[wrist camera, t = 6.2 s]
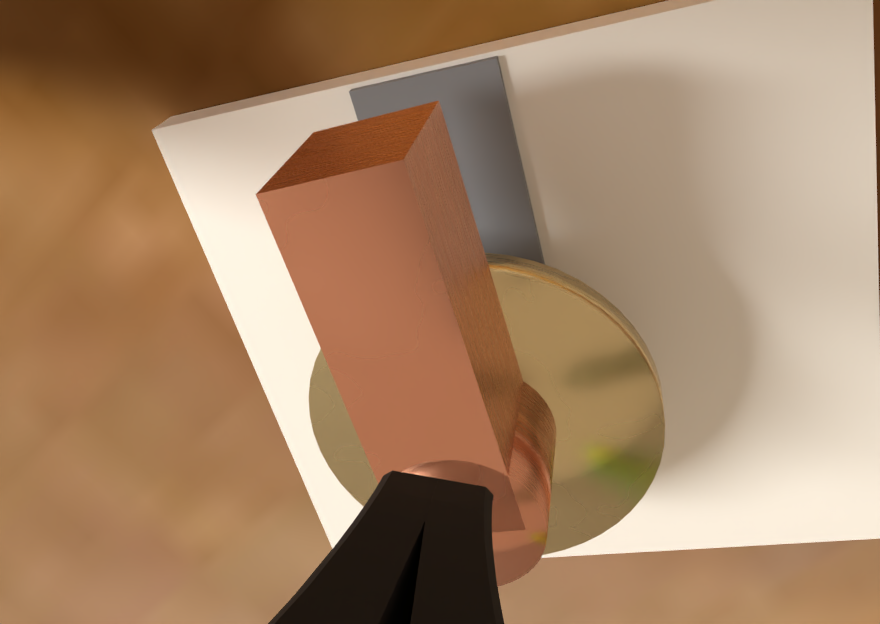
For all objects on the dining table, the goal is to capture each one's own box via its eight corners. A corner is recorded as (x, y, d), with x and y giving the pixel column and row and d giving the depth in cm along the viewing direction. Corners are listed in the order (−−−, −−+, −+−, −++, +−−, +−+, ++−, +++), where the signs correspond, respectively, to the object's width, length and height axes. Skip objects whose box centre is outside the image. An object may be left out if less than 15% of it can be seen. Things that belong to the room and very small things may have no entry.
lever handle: (381, 545, 21) (342, 672, 18) (207, 149, 17) (112, 228, 13) (689, 517, 19) (703, 655, 16) (590, 50, 14) (584, 116, 11)
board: (171, 116, 20) (106, 161, 17) (858, -45, 16) (904, -17, 13) (350, 544, 26) (322, 623, 24) (873, 510, 22) (907, 600, 20)
